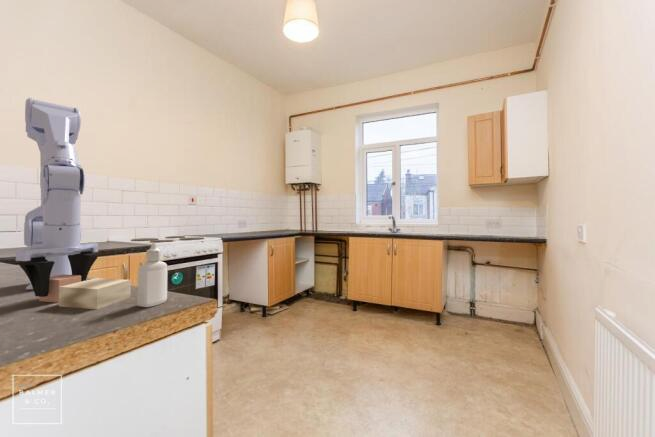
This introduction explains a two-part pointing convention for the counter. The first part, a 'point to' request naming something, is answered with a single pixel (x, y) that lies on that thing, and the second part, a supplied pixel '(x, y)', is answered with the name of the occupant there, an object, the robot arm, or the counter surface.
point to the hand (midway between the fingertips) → (60, 291)
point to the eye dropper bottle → (152, 279)
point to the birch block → (94, 293)
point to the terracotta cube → (56, 283)
